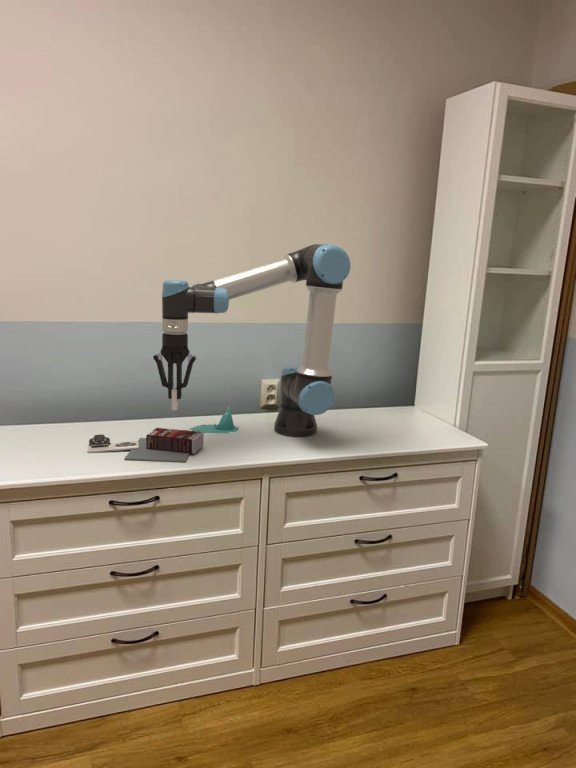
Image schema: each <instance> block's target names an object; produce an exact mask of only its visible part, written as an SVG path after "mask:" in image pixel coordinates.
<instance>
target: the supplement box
mask: <svg viewBox="0 0 576 768" xmlns="http://www.w3.org/2000/svg"><path fill="white" fill-rule="evenodd" d="M204 434H205V433H204V432H198V431H191V430H186V429H184V430H183V429H176V428H175V429H174V428H163V427H156V428H153V430H152V431H150V432H148V433H147V434H146V436H145V438H146V448H147V449H155V450H165V451H175V452H184V453H190V454H193V455H194V454H196V453H197V452H198V451H199V450H200V449H201V448H202V447H204V438H205V437H204Z"/></svg>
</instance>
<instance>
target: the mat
mask: <svg viewBox="0 0 576 768" xmlns="http://www.w3.org/2000/svg"><path fill="white" fill-rule="evenodd" d="M137 441H138V443H139V449H133V450H129V452H128V453H127V454H126V455H125V457H124V459H123V460H124V461H133V462H134V461H137V462H138V461H139V462H140V461H141V462H161V463H163V462H164V463H165V462H166V463H186V462H187V461H188V458H189V457H190V454H191V453H184V452H175V451H165V450H155V449H147V448H146V437H140V438H139V439H138V440H137Z"/></svg>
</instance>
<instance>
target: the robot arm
mask: <svg viewBox="0 0 576 768" xmlns="http://www.w3.org/2000/svg"><path fill="white" fill-rule="evenodd" d="M350 271H351V261H350V257H349V254H348V253H347V252H346V250H344V249H343V248H342V247H340V246H338V245H335V244H331V243H330V244H329V243H328V244H327V243H325V244H323V243H322V244H317V243H316V244H311V245H308V246H305V247H303V248H301V249H298V250H296V251H292V252H289V253H287V254H285V255H284V257H283V258H281V259H277V260H274V261H271V262H268V263H265V264H261V265H258V266H255V267H252V268H249V269H245V270H242V271H239V272H235V273H233V274H229V275H227V276H223V277H219V278H216V279H212V280H211V281H208V282H207V281H206V282H204V283H196V284H193V285H191V286H189V282H188V281H187V280H184V279H183V280H182V279H166V280H164V281H163V283H162V294H161V303H162V304H161V307H162V309H161V312H162V317H161V320H162V321H161V322H162V323H161V324H162V325H161V327H162V329H161V330H162V334H161V338H162V340H161V341H162V345H161V349H160V352H158V353H157V354H155V355H153V356H152V358H153V360H154V362H155V363H156V366H157V371H158V375H159V378H160V382H161V383H160V384H161V385H162V387H163V388H167V394H168V395H167V398H168V400H171V411H177V410H178V409H179V400H181V399H182V396H183V395H182V392H183V391H182V389H184V388H187V386H188V384H189V380H190V377H191V373H192V369H193V365H194V363H195V361H196V360H197V356H196V355H193V354H192V353H190V349H189V346H188V345H189V335H188V333H187V332H189V313H192V314H193V313H195V314H196V313H199V314H200V313H201V314H216V315H217V314H225V313H226V312H227V311H228V309H229V306H230V305H229V304H230V301H231V300H233V299H238V298H240V297H243V296H246V295H250V294H252V293H256V292H258V291H262V290H265V289H269V288H271V287H274V286H279V285H281V284H282V285H283V284H284V283H288V282H291V283H293V284H294V283H298V282H301V281H302V282H303V281H305V288H306V289H308V292H309V298H308V304H307V305H308V307H307V316H306V327H305V335H304V344H303V351H302V352H303V353H302V361H301V365H300V366H297V365H296V366H285V367H283V368H282V370H281V376H280V380H281V381H280V401H279V402H280V403H279V404H280V406H279V410H278V413H277V415H276V418H275V422H274V428H273V429H274V432H275V433H277V434H279V435H283V436H289V437H309V436H313V435H315V434H317V431H318V424H317V420H316V416H317V415H319V416H320V415H323V414H324V413H326V412H327V411H329V410H330V409H331V408H332V406H333V405H334V402H335V398H336V393H335V390H334V388H333V386H332V379H333V378H332V377H333V373H332V371H331V370H330V369H329V363H330V356H331V346H332V339H333V330H334V329H333V328H334V319H335V313H336V312H335V311H336V304H337V296H338V294H339V293H340V292H341V291H342V290H343V285H344V284H343V283H344V280H346V279H347V278H348V276H349V274H350ZM163 358H164V360H165V362H167V376H166V372H165V368H164V364H163V363H164V362H163V361H162V360H163ZM186 358H187V359H186ZM185 360H187V361H188V364H187V367H186V370H185V374H184V379H183V363H184V361H185ZM174 365H176V366H174ZM174 367H176V387H174V386H175V385H174Z"/></svg>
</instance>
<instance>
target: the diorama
mask: <svg viewBox="0 0 576 768" xmlns="http://www.w3.org/2000/svg"><path fill="white" fill-rule="evenodd" d="M193 427H194V428H192V427H190V428H191V430H192V431H198V432H204V434H206V433H216V434H232V433H231V432H233V433H237V432H236V431H238V430H239V428H240V427H238V426H236V427H235V424H234V420H233V415H232V410H231V406H230V405H228V406H227V408H226V411H225V412H224V413H223V414H222V416H221V417H220V420H219V423H217V425H216V423H214V424H201V425H200V426H199V425H196V427H195V426H193ZM237 427H238V428H237ZM191 430H190V431H191ZM239 431H240V430H239ZM239 431H238V432H239ZM229 432H230V433H229Z"/></svg>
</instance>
